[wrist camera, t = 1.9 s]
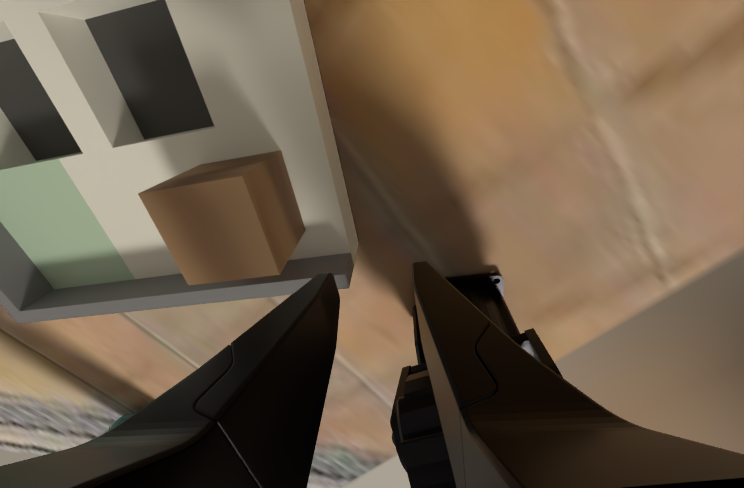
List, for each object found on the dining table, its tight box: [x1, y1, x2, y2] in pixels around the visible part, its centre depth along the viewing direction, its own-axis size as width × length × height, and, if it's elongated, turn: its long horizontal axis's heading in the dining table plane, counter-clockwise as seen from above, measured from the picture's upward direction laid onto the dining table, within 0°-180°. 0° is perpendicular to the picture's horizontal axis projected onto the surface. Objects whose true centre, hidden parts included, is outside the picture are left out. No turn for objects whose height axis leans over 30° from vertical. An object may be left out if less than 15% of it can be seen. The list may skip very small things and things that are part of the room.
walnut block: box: [138, 150, 305, 285], centre depth 17 cm, size 5×5×5 cm
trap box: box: [0, 0, 359, 324], centre depth 19 cm, size 24×18×6 cm
